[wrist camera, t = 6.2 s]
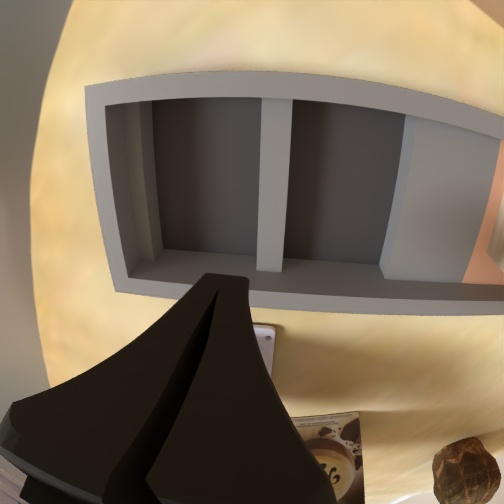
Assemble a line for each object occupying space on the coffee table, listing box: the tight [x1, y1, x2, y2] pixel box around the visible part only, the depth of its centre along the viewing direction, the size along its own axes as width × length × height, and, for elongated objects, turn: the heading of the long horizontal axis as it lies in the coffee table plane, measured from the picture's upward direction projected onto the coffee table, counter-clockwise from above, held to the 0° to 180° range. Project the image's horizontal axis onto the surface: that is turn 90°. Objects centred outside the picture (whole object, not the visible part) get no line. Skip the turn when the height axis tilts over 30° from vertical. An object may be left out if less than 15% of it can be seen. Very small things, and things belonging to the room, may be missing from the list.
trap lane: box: [85, 71, 504, 316], centre depth 16 cm, size 12×29×4 cm, turn 89°
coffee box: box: [291, 412, 365, 504], centre depth 24 cm, size 9×6×16 cm
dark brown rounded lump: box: [432, 438, 501, 504], centre depth 29 cm, size 11×11×12 cm
